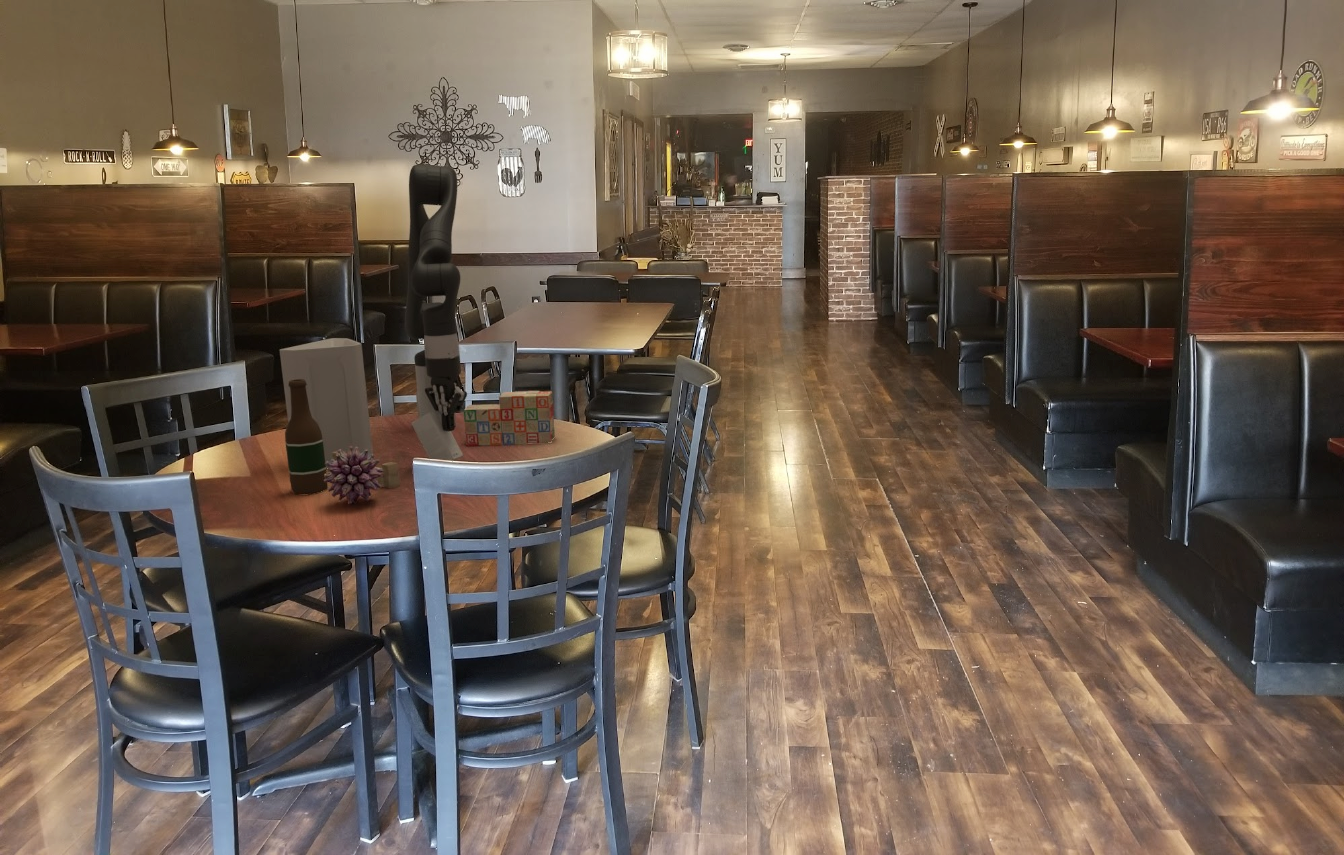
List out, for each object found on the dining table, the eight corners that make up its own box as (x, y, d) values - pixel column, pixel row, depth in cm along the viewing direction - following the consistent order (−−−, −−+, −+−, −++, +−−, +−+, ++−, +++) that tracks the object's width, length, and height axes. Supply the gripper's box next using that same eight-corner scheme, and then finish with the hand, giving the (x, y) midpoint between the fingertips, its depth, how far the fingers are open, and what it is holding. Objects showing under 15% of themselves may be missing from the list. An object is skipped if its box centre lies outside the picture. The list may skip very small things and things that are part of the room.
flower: (347, 515, 216) (341, 456, 213) (315, 505, 224) (308, 448, 221) (397, 501, 224) (391, 444, 222) (364, 492, 232) (358, 437, 229)
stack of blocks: (465, 446, 271) (461, 397, 269) (471, 440, 277) (467, 392, 275) (551, 444, 270) (548, 394, 267) (555, 438, 276) (552, 390, 273)
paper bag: (344, 473, 249) (331, 351, 243) (292, 469, 255) (277, 350, 249) (394, 453, 267) (383, 338, 261) (344, 450, 272) (332, 338, 266)
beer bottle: (295, 486, 239) (282, 378, 234) (332, 484, 240) (320, 376, 235) (286, 496, 232) (273, 384, 227) (324, 493, 232) (311, 382, 227)
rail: (334, 474, 249) (332, 452, 248) (343, 471, 250) (341, 450, 249) (390, 488, 234) (388, 465, 233) (399, 485, 236) (397, 463, 235)
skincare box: (464, 455, 250) (440, 408, 250) (454, 459, 246) (429, 412, 246) (444, 465, 252) (420, 419, 252) (434, 470, 248) (409, 423, 248)
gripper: (410, 354, 245) (417, 430, 249) (446, 359, 237) (453, 437, 240) (438, 350, 251) (444, 424, 255) (474, 354, 242) (480, 430, 246)
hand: (449, 430), depth 247 cm, fingers closed
